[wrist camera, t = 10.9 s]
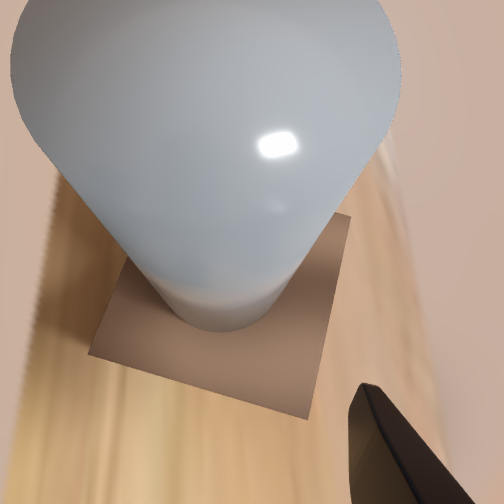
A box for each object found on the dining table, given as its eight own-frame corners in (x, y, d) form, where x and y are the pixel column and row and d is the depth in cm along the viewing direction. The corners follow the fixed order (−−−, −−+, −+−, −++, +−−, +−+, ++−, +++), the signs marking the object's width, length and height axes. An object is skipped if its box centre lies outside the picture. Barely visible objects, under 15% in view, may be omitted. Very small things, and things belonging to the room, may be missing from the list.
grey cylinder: (266, 348, 17) (366, 278, 5) (139, 311, 17) (-71, 155, 5) (296, 230, 19) (423, -35, 7) (182, 198, 19) (103, -118, 7)
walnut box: (292, 412, 20) (307, 420, 16) (113, 358, 20) (87, 354, 17) (330, 243, 23) (351, 216, 20) (175, 198, 24) (165, 164, 20)
